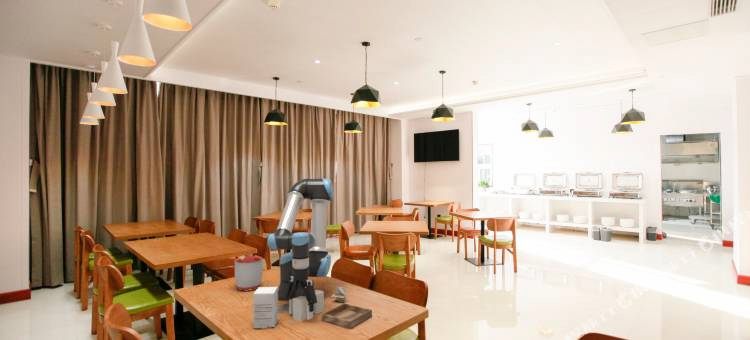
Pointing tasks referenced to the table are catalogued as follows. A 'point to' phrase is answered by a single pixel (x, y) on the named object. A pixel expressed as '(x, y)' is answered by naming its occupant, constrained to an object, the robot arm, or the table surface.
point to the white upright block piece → (319, 302)
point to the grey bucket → (248, 272)
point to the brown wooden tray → (346, 315)
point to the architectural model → (340, 294)
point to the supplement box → (265, 307)
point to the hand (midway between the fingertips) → (300, 315)
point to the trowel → (283, 308)
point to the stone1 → (300, 308)
